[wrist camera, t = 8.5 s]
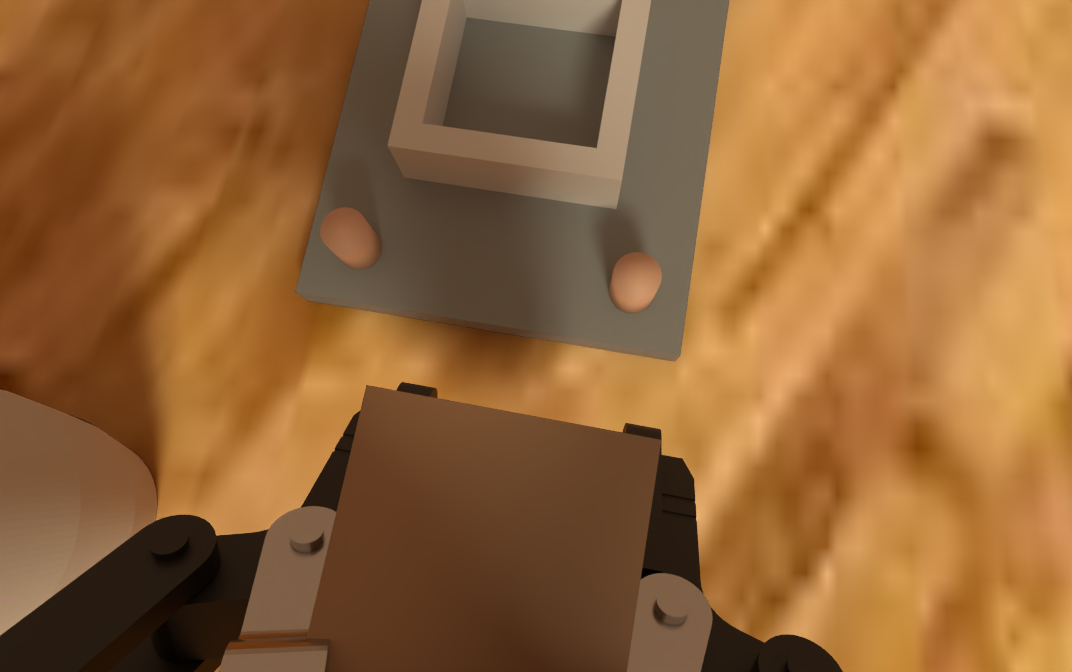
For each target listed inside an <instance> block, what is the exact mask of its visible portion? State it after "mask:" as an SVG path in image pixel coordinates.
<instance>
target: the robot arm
mask: <svg viewBox="0 0 1072 672" xmlns="http://www.w3.org/2000/svg"><path fill="white" fill-rule="evenodd" d="M396 391H401V392H406V393H411V394H417V395H422V396H428V397H433V398H437V389H436V388H432V387H426V386H421V385H415V384H410V383H404V382H402V383H401V384H400V385H399V387H398V388H397V390H396ZM359 415H360V411H359V412H358V413H356V414H355V415H354V416H353V418H352V419H351V421H350V423H349V425H348V426H347V428H346V430H345V432H344V433H343V437H341V439H340V440H339V442H338V444H337V446H336V447H335V451H334V452H333V453H332V454H331V456H330V458H329V460H328V461H327V463H326V465H325V466H324V468H323V470H322V472H321V473H320V475H319V477H318V479H317V480H316V482H315V484H314V486H313V487H312V489H311V491H310V493H309V494H308V496H307V498H306V500H305V501H304V503H303V505H302V506H301V508H298V509H295V510H292V511H290V512H288V513H286V514H284V515H283V516H281V517H280V518H278V519H277V520H276V521H275V522H274V523H273V524H272V525H271V527H270V528H269V529H268V530H264V531H260V532H254V533H244V534H232V535H220V536H216V534H215V531H214V529H213V527H212V526H211V524H210V523H209V522H207V521H206V520H205V519H202V518H200V517H197V516H193V515H175V516H169V517H166V518H162V519H160V520H157V521H155V522H153V523H151V524H149V525H147V526H146V527H144V528H143V529H141V530H140V531H139V532H137V533H136V534H135V535H133V536H132V537H131V538H129V539H128V540H127V541H125V542H124V543H123V544H121V545H120V546H119V547H117V548H116V549H115V550H113V551H112V552H111V553H109V554H108V555H107V556H105V557H104V558H103V559H101V560H100V561H99V562H97V563H96V564H95V565H93V566H92V567H91V568H89V569H88V570H87V571H85V572H84V573H83V574H81V575H80V576H79V577H77V578H76V579H75V580H73V581H72V582H71V583H69V584H68V585H67V586H65V587H64V588H63V589H61V590H60V591H59V592H57V593H56V594H55V595H53V596H52V597H51V598H49V599H48V600H47V601H45V602H44V603H43V604H41V605H40V606H39V607H37V608H36V609H35V610H33V611H32V612H31V613H29V614H28V615H27V616H25V617H24V618H23V619H21V620H20V621H19V622H18V623H16V624H15V625H14V626H12V627H11V628H10V629H8V630H7V631H6V632H4V633H3V634H2V635H0V672H214V671H215V670H216V669H217V668H218V667H219V666H220V665H221V666H220V670H219V672H329V652H330V639H306V638H307V634H308V630H309V625H310V621H311V617H312V613H313V608H314V604H315V600H316V596H317V592H318V587H319V583H320V579H321V575H322V571H323V566H324V562H325V558H326V554H327V549H328V545H329V541H330V537H331V533H332V528H333V524H334V520H335V516H336V512H337V507H338V503H339V499H340V495H341V490H342V486H343V482H344V478H345V474H346V469H347V465H348V461H349V457H350V453H351V448H352V444H353V440H354V436H355V432H356V427H357V423H358V419H359ZM623 433H627V434H632V435H638V436H643V437H649V438H654V439H659V440H661V430H660V429H656V428H651V427H645V426H640V425H634V424H629V423H625V426H624V429H623ZM627 672H843V671H842V670H841V668H840V667H839V665H838V664H837V662H836V661H835V660H834V659H833V657H832V656H831V655H830V654H829V653H827V652H826V651H825V650H824V649H823V648H821V647H820V646H819V645H817V644H815V643H814V642H812V641H810V640H808V639H805V638H803V637H799V636H796V635H779V636H775V637H773V638H771V639H769V640H768V641H767V642H765V643H764V642H762V641H760V640H758V639H756V638H754V637H752V636H750V635H748V634H746V633H744V632H742V631H740V630H738V629H736V628H734V627H733V626H731V625H729V624H728V623H727V622H725V621H724V620H723V619H722V618H720V617H719V616H718V615H717V614H716V613H715V611H714V610H713V609H712V608H711V607H710V605H709V603H708V600H707V599H706V597H705V596H704V594H703V591H702V588H701V582H700V566H699V551H698V535H697V521H696V504H695V489H694V478H693V476H692V475H691V473H690V471H689V469H688V468H687V466H686V464H685V462H684V461H683V459H681V458H676V457H670V456H665V455H661V446H660V452H659V459H658V466H657V473H656V479H655V486H654V493H653V499H652V506H651V513H650V520H649V526H648V533H647V540H646V546H645V553H644V560H643V567H642V573H641V580H640V587H639V594H638V600H637V607H636V614H635V620H634V627H633V634H632V641H631V647H630V654H629V661H628V667H627Z"/></svg>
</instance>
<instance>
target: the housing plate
mask: <svg viewBox="0 0 1072 672" xmlns="http://www.w3.org/2000/svg"><path fill="white" fill-rule="evenodd" d="M728 5H729V0H370V1H369V5H368V9H367V13H366V17H365V20H364V24H363V28H362V32H361V36H360V40H359V44H358V48H357V52H356V56H355V60H354V64H353V68H352V71H351V75H350V79H349V83H348V87H347V91H346V95H345V99H344V103H343V107H342V111H341V115H340V119H339V123H338V126H337V130H336V134H335V138H334V142H333V146H332V150H331V154H330V158H329V162H328V166H327V170H326V174H325V178H324V181H323V185H322V189H321V193H320V197H319V201H318V205H317V209H316V213H315V217H314V221H313V225H312V229H311V232H310V236H309V240H308V244H307V248H306V252H305V256H304V260H303V264H302V268H301V272H300V276H299V280H298V284H297V287H296V291H295V292H296V293H297V294H299V295H300V296H301V297H303V298H304V299H306V300H307V301H313V302H319V303H325V304H331V305H337V306H343V307H349V308H355V309H361V310H367V311H373V312H379V313H385V314H391V315H397V316H403V317H409V318H415V319H422V320H428V321H434V322H440V323H446V324H452V325H458V326H464V327H470V328H476V329H482V330H488V331H494V332H500V333H506V334H512V335H518V336H524V337H530V338H536V339H542V340H548V341H554V342H560V343H567V344H573V345H579V346H585V347H591V348H597V349H603V350H609V351H615V352H621V353H627V354H633V355H639V356H645V357H651V358H657V359H663V360H669V361H676V360H677V359H678V357H679V356H680V353H681V346H682V339H683V332H684V324H685V317H686V310H687V303H688V295H689V288H690V281H691V274H692V266H693V259H694V252H695V245H696V237H697V230H698V223H699V216H700V208H701V201H702V194H703V187H704V179H705V172H706V165H707V158H708V150H709V143H710V136H711V129H712V121H713V114H714V107H715V99H716V92H717V85H718V78H719V70H720V63H721V56H722V49H723V41H724V34H725V27H726V20H727V12H728Z"/></svg>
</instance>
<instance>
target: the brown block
mask: <svg viewBox="0 0 1072 672" xmlns="http://www.w3.org/2000/svg"><path fill="white" fill-rule="evenodd" d="M660 446H661V440H659V439H654V438H649V437H643V436H638V435H632V434H627V433H622V432H616V431H611V430H605V429H600V428H595V427H589V426H584V425H579V424H573V423H568V422H562V421H557V420H552V419H546V418H541V417H535V416H530V415H525V414H519V413H514V412H508V411H503V410H498V409H492V408H487V407H482V406H476V405H471V404H465V403H460V402H455V401H449V400H444V399H438V398H433V397H428V396H422V395H417V394H411V393H406V392H401V391H395V390H390V389H385V388H379V387H374V386H368V385H366V389H365V394H364V398H363V402H362V406H361V410H360V415H359V419H358V423H357V427H356V432H355V436H354V440H353V444H352V448H351V453H350V457H349V461H348V465H347V469H346V474H345V478H344V482H343V486H342V490H341V495H340V499H339V503H338V507H337V512H336V516H335V520H334V524H333V528H332V533H331V537H330V541H329V545H328V549H327V554H326V558H325V562H324V566H323V571H322V575H321V579H320V583H319V587H318V592H317V596H316V600H315V604H314V608H313V613H312V617H311V621H310V625H309V630H308V634H307V638H306V639H330V652H329V672H627V667H628V661H629V654H630V647H631V641H632V634H633V627H634V620H635V614H636V607H637V600H638V594H639V587H640V580H641V573H642V567H643V560H644V553H645V546H646V540H647V533H648V526H649V520H650V513H651V506H652V499H653V493H654V486H655V479H656V473H657V466H658V459H659V452H660Z"/></svg>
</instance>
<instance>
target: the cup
mask: <svg viewBox="0 0 1072 672" xmlns="http://www.w3.org/2000/svg"><path fill="white" fill-rule="evenodd" d="M156 513H157V493H156V487H155V483H154V480H153V477H152V475H151V473H150V471H149V469H148V468H147V466H146V465H145V463H144V462H143V461H142V460H141V458H140V457H139V456H137V455H136V454H135V453H134V452H133V451H131V450H130V449H128V448H127V447H125V446H124V445H123V444H121V443H120V442H118V441H117V440H115V439H114V438H112V437H111V436H110V435H108V434H107V433H105V432H104V431H102V430H101V429H99V428H98V427H96V426H95V425H93V424H91V423H89V422H87V421H85V420H82V419H80V418H77V417H74V416H72V415H69V414H67V413H64V412H61V411H59V410H56V409H53V408H51V407H48V406H46V405H43V404H40V403H38V402H35V401H33V400H30V399H27V398H25V397H22V396H20V395H17V394H14V393H12V392H9V391H6V390H3V389H0V635H2V634H3V633H4V632H6V631H7V630H8V629H10V628H11V627H12V626H14V625H15V624H16V623H18V622H19V621H20V620H21V619H23V618H24V617H25V616H27V615H28V614H29V613H31V612H32V611H33V610H35V609H36V608H37V607H39V606H40V605H41V604H43V603H44V602H45V601H47V600H48V599H49V598H51V597H52V596H53V595H55V594H56V593H57V592H59V591H60V590H61V589H63V588H64V587H65V586H67V585H68V584H69V583H71V582H72V581H73V580H75V579H76V578H77V577H79V576H80V575H81V574H83V573H84V572H85V571H87V570H88V569H89V568H91V567H92V566H93V565H95V564H96V563H97V562H99V561H100V560H101V559H103V558H104V557H105V556H107V555H108V554H109V553H111V552H112V551H113V550H115V549H116V548H117V547H119V546H120V545H121V544H123V543H124V542H125V541H127V540H128V539H129V538H131V537H132V536H133V535H135V534H136V533H137V532H139V531H140V530H141V529H143V528H144V527H146V526H147V525H149V524H151V523H153V522H155V519H156Z"/></svg>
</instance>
